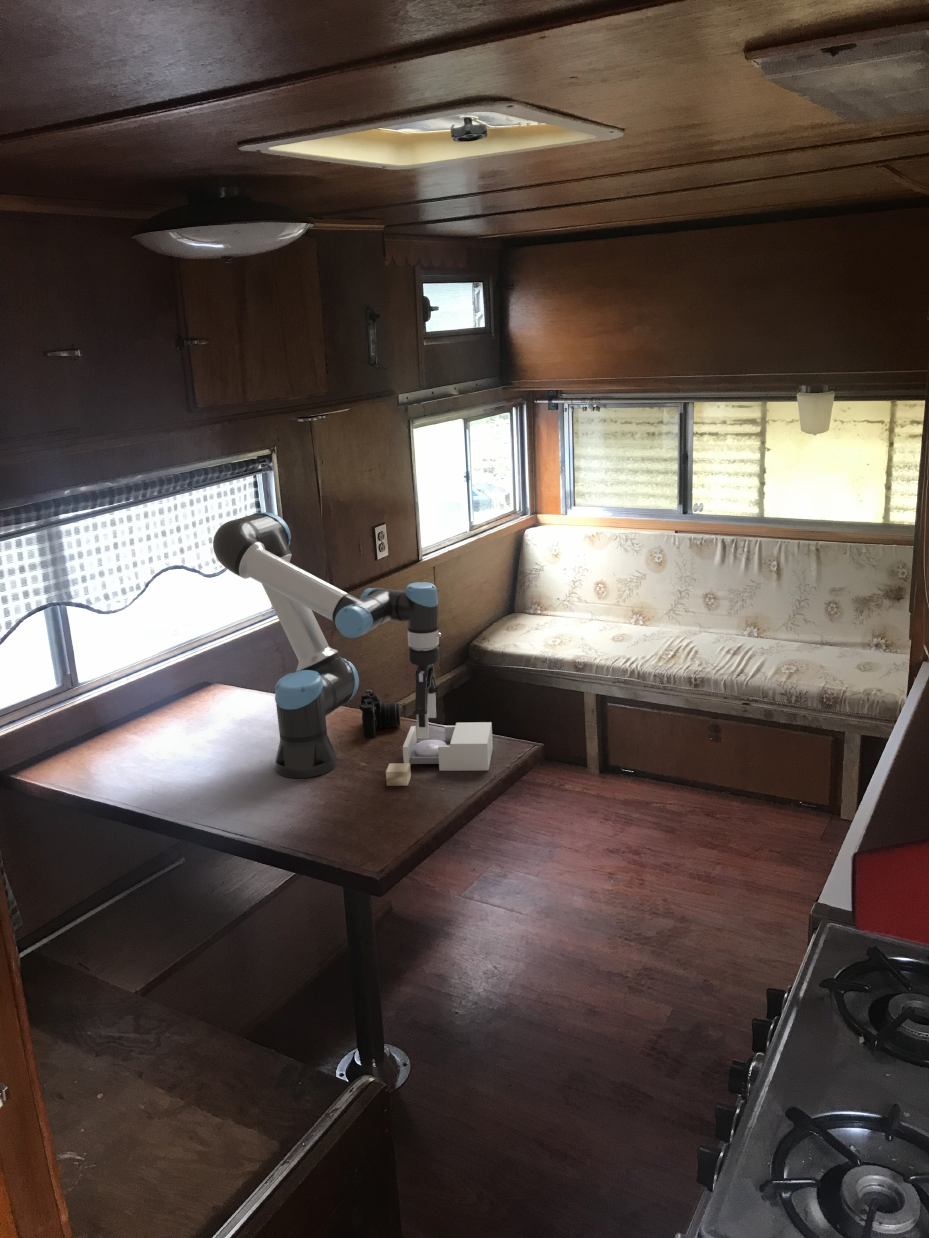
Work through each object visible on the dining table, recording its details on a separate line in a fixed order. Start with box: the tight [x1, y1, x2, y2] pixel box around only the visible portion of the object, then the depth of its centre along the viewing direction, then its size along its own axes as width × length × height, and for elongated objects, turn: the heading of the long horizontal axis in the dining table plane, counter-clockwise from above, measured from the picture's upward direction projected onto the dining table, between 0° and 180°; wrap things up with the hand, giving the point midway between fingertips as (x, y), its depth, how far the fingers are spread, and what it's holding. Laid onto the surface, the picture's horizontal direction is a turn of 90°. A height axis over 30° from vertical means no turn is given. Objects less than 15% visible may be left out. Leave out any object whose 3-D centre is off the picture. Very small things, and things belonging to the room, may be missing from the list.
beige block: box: [385, 762, 412, 787], centre depth 236 cm, size 5×5×4 cm
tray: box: [402, 725, 451, 767], centre depth 247 cm, size 12×14×6 cm
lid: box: [415, 739, 446, 757], centre depth 247 cm, size 8×8×2 cm
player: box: [438, 721, 494, 772], centre depth 246 cm, size 12×14×7 cm
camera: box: [358, 689, 401, 740], centre depth 269 cm, size 14×11×10 cm
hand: (427, 727), depth 246 cm, fingers open, 13 cm apart
